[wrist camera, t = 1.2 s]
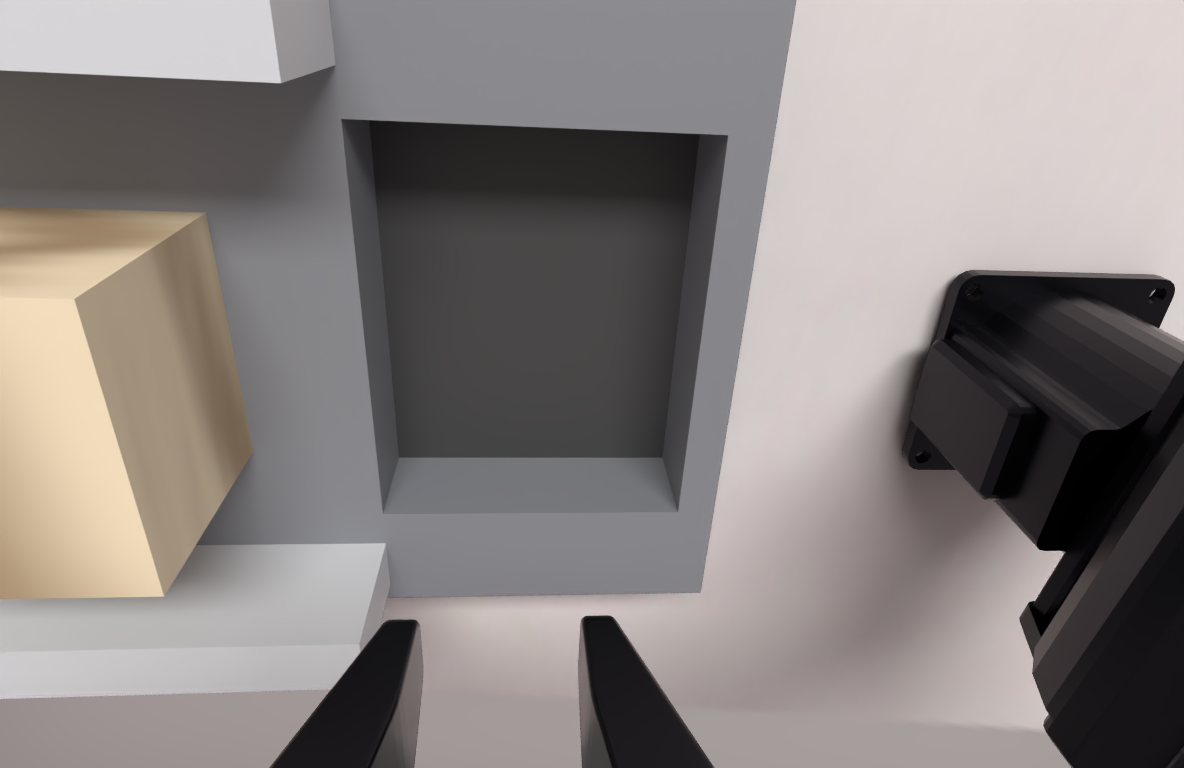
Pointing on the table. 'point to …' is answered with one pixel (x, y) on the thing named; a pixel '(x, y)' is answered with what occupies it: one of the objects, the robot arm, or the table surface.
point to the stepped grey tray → (414, 299)
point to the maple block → (111, 400)
